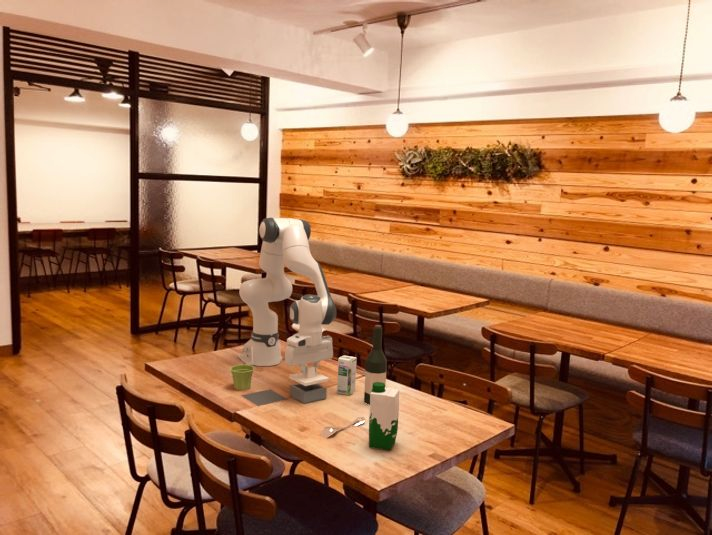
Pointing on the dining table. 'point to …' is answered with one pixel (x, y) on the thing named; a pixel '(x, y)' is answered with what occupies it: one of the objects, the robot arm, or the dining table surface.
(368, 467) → the dining table surface
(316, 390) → the dish
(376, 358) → the wine bottle
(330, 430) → the silver spoon
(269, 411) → the dining table surface
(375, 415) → the milk carton
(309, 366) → the lid
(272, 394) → the coaster
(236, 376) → the plant pot
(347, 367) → the syrup box
